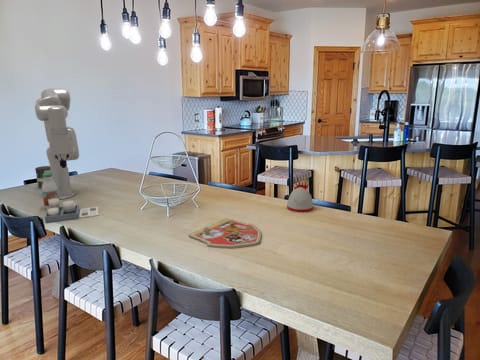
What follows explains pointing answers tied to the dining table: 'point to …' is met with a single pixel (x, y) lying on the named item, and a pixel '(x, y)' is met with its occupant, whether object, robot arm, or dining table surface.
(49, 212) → the button
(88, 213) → the card
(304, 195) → the grey red dome
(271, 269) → the dining table surface
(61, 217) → the button board
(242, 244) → the coat of arms plaque
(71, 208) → the button
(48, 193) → the milk bottle
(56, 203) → the button
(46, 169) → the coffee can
